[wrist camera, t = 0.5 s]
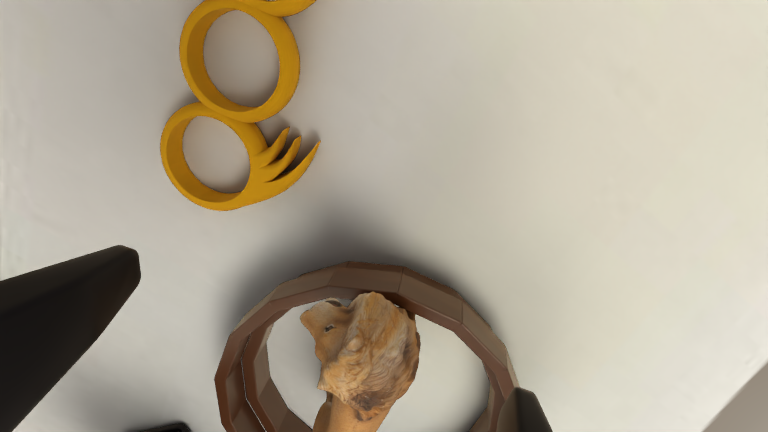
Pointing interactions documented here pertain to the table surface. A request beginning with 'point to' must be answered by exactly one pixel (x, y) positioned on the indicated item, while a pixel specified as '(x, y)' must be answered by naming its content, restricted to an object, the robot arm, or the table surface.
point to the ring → (348, 284)
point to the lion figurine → (362, 360)
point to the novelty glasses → (236, 108)
